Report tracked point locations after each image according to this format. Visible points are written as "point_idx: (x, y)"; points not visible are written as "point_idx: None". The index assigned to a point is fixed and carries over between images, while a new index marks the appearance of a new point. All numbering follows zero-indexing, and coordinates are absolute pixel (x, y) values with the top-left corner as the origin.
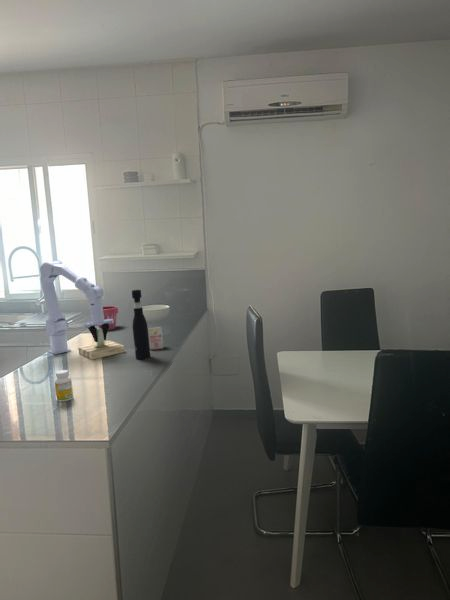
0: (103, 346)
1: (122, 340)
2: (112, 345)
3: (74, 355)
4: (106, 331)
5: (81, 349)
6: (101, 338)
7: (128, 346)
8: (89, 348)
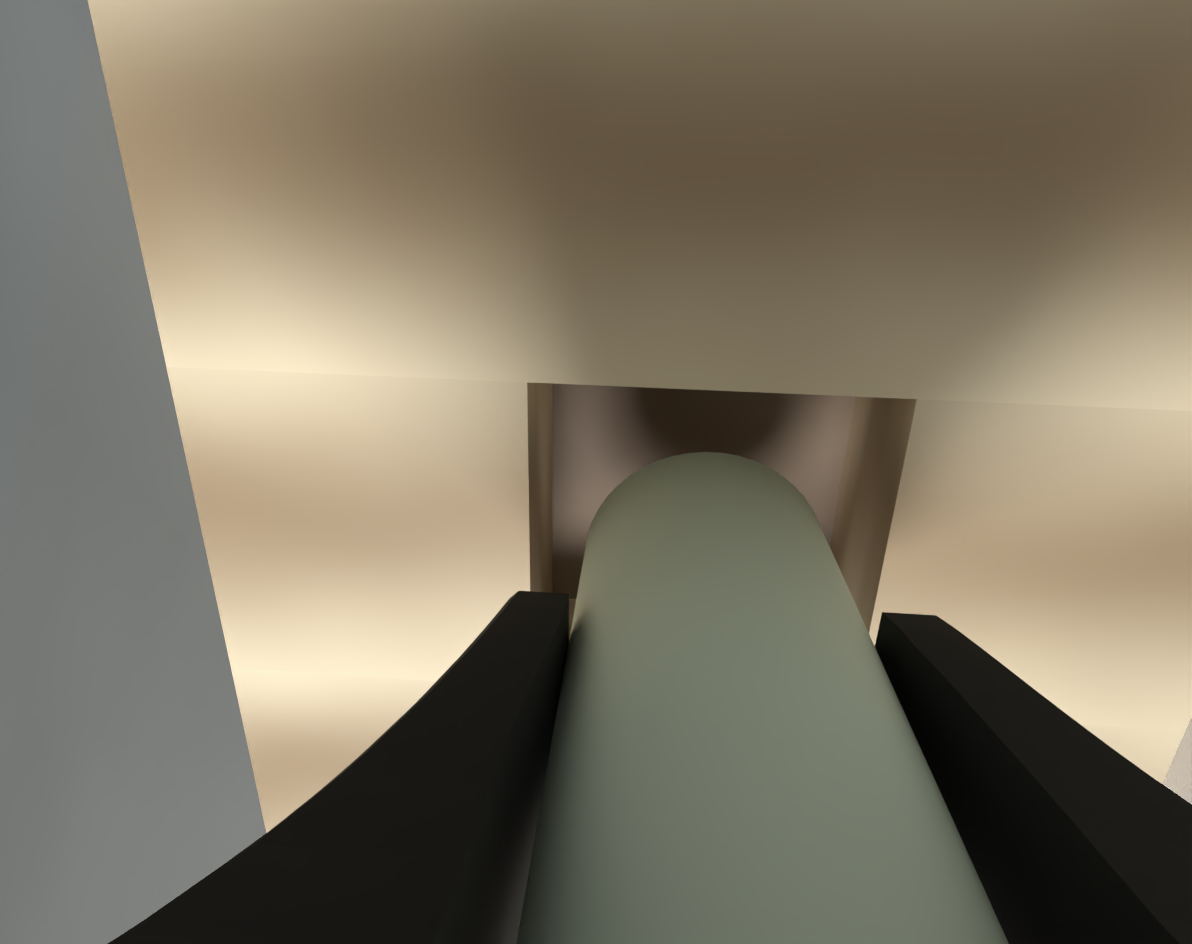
0: (674, 456)
1: (38, 933)
2: (402, 355)
3: (1170, 770)
4: (327, 846)
5: (1146, 772)
6: (745, 611)
7: (8, 458)
8: (1036, 632)
